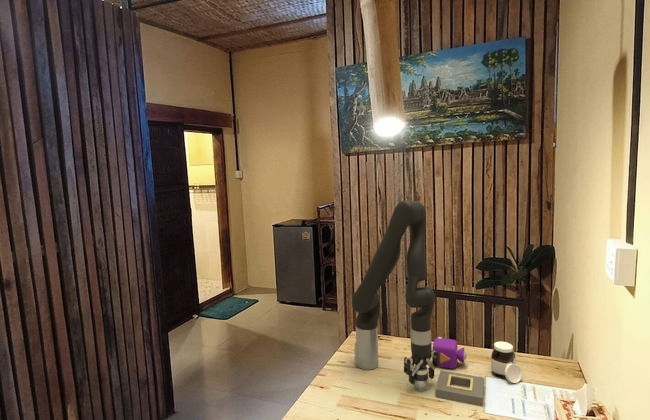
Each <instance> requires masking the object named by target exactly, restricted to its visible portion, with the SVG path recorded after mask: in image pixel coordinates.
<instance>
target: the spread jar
mask: <svg viewBox="0 0 650 420" xmlns="http://www.w3.org/2000/svg"><path fill="white" fill-rule="evenodd" d="M490 356H491V357H490V370H491V372H492V373H493V374H494V375H495V376H497V377H501V378H504V379H506V380H507V381H508V382H509V383H512V384H517V383H519V382H520V381H521V380H522V375H523V374H522V369H521V367H520V366H519V365H518V364H516V352H515V351H514V346H513V344H511V343H509V342H507V341H496V342H494V343H493V350H492V352H491V355H490Z"/></svg>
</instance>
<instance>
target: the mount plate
mask: <svg viewBox="0 0 650 420" xmlns="http://www.w3.org/2000/svg"><path fill="white" fill-rule="evenodd" d="M484 389H485V377H482V376H477V375H470V374H466V373H459V372H453V371H447V370H440V371H439V374H438V377H437V382H436V386H435V389H434V391H435V394H434V395H435V396H434V397H435V398H439V399H444V400H449V401H453V402H454V401H455V402H459V403H462V404H463V403H464V404H469V405H474V406H479V407H484V393H485V391H484Z"/></svg>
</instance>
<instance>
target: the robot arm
mask: <svg viewBox="0 0 650 420" xmlns="http://www.w3.org/2000/svg"><path fill="white" fill-rule="evenodd" d="M426 215H427V214H426V207H425V206H424V204H423V203H422V202H420V201H418V200H417V201H416V200H407V199H405V200H401V201H399V202H398V203H397V204H396V206H395V207H394V208H393V212H392V214H391V217H390V220H389V223H388V226H387V228H386V230H385V232H384V234H383V237H382V239H381V241H380V243H379V245H378V247H377V249H376V251H375V253H374V254H373V256H372V260H371V261H370V263H369V266H368V268H367V270H366V272H365V275H364V276H363V279H362V281H361V282H360V284H359V286H358V288H357V289H356V290H355V292H354V293H353V295H352V297H351V305H352V306H351V307H352V308H353V309H354V311H355V312H356V313H358V314H357V316H356V318H355V343H354V366H355V367H357V368H359V369H362V370H365V371H369V370H374V369H377V368H378V367H379V328H378V327H379V326H378V322H379V318H380V296H379V295H380V294H379V293H378V292H379V289H380V288H381V287H382V285H383V284H384V283H385V281H386V280H387V279H388V278H389V276H391V273H393V270H394V269H395V267H396V265H397V263H398V261H399V259H400V257H401V251H402V250H401V249H402V247H401V242H402V239H403V236H404V234H405V232H406V230H407V229H408V227H409V229H410V230H409V231H410V232H409V233H410V238H409V240H410V241H409V244H408V249H407V251H406V252H407V254H406V267H407V268H406V269H407V285H406V291H405V301H406V304H407V305H408V307H410V308H412V309H413V308H414V309H415V308H420V309H418V310H416V311H414V312H412V313H411V314H410V323H411V325H410V328H411V329H410V353H411V356H410V357H406V356H404V358H403V372H404V373H405V374H406V375H407V376H408V382H409V383H410V384H411V385H413V386H414V384H415V375H414V374H415V372H416V371H418V369H419V368H421V367H423V366H426V367H427V368H428V379H430V380H434V377H435V369H436V368H440V367H439V357H438V352H436V351H435V350H433V344H432V342H433V341H432V330H431V318H432V314H433V309H434V306H435V302H436V294H435V291H434V289H432V287H430V286H422V287H417V286H418V284H419V283H420V282H423V281H425V280H426V281H427V279H428V268H427V259H426V223H427V221H426V219H427V216H426ZM431 360H432V361H431ZM415 365H416V367H414V366H415Z"/></svg>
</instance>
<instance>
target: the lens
mask: <svg viewBox="0 0 650 420" xmlns="http://www.w3.org/2000/svg"><path fill="white" fill-rule="evenodd" d="M414 367H416V365H415V364H414ZM428 368H429V367H428V366H423V367H421V368H419V369H418V371H416V372H415V374H414V375H415V384H414V385H413V390H414V391H416V392H420V393H425V392H427V391H428V387H429V385H428V383H429V382H428V381H429V380H428V379H429V376H428Z"/></svg>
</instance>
